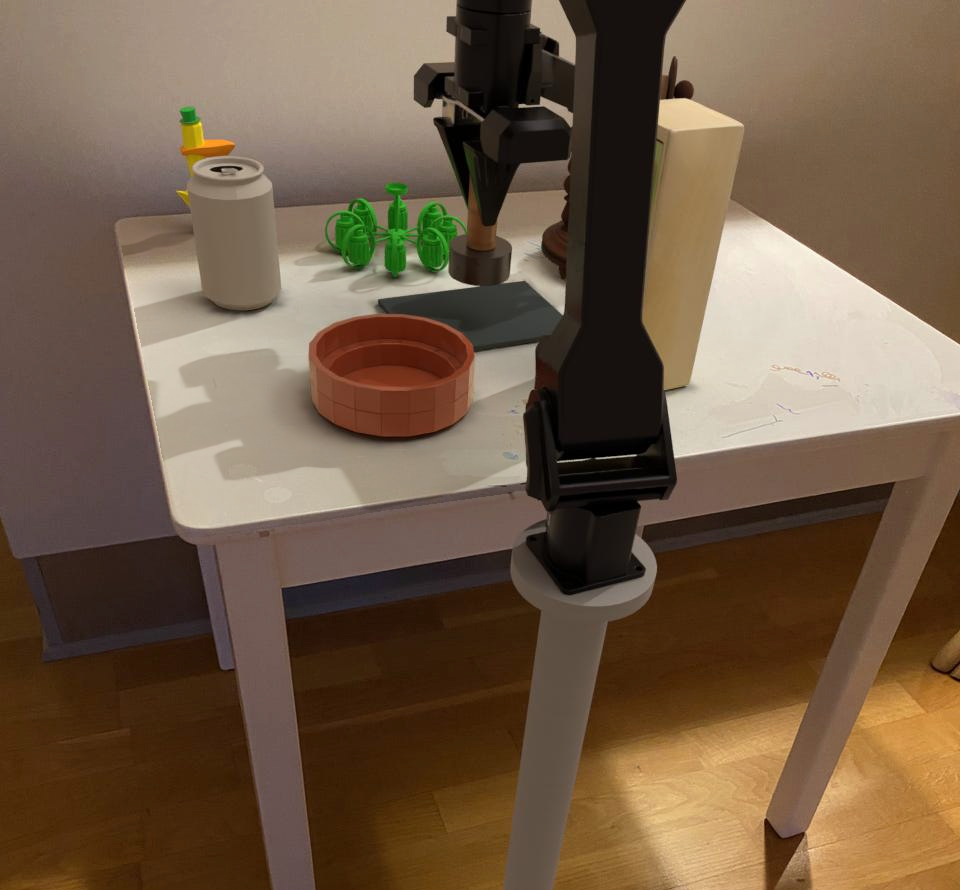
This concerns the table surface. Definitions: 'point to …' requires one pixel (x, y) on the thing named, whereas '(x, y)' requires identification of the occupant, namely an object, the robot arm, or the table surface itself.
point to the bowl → (391, 374)
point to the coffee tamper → (479, 251)
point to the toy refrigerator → (686, 227)
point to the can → (235, 232)
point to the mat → (484, 313)
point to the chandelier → (394, 233)
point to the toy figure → (198, 143)
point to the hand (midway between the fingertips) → (481, 219)
